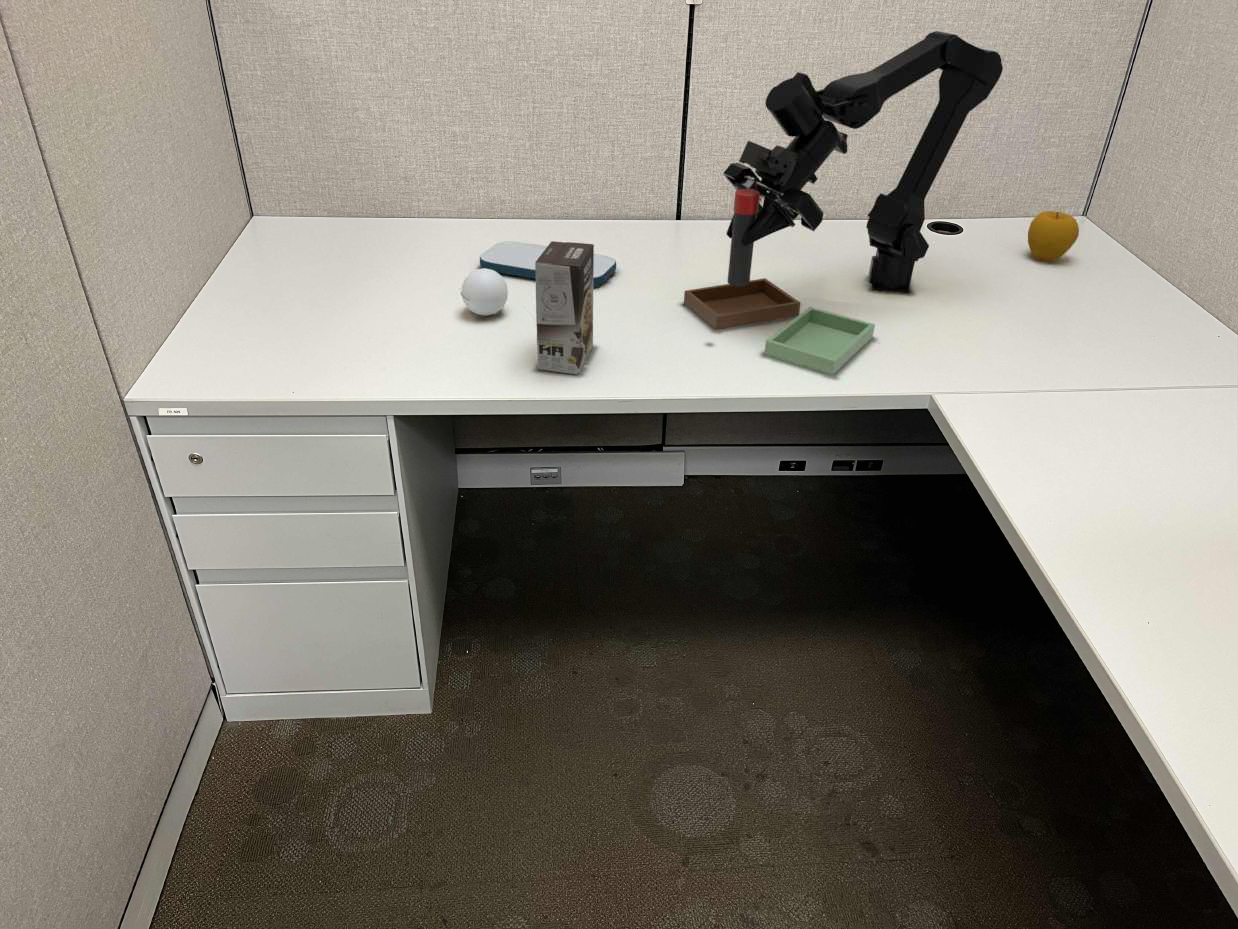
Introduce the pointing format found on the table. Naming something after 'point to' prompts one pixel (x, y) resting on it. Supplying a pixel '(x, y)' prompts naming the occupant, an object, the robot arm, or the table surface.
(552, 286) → the coffee box
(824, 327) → the green tray
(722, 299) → the walnut tray
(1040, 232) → the apple
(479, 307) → the white rounded piece
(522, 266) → the blue white rounded slab
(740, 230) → the thermos
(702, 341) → the table surface
